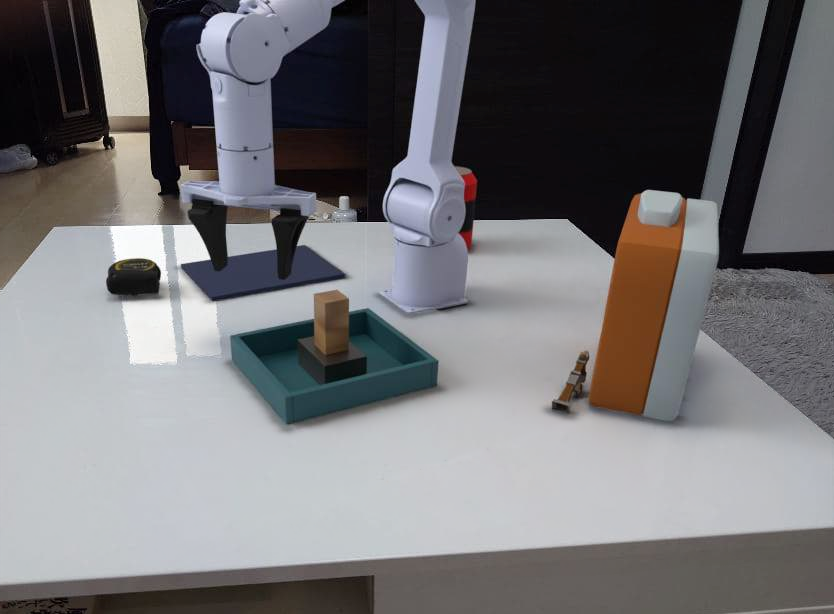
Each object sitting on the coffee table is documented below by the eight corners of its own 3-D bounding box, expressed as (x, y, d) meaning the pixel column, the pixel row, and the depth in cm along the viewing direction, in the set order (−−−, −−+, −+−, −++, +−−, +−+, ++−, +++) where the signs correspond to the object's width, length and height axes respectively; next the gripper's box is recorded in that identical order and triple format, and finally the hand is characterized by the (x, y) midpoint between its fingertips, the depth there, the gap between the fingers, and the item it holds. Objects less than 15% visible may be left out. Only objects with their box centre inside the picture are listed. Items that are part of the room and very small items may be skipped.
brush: (337, 354, 89) (337, 281, 84) (366, 380, 84) (368, 303, 79) (297, 363, 87) (295, 288, 82) (325, 390, 82) (324, 312, 77)
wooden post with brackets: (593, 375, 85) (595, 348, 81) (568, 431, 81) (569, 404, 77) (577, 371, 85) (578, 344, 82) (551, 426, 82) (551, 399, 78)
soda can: (417, 240, 126) (421, 165, 120) (461, 237, 128) (467, 163, 122) (432, 255, 120) (437, 177, 114) (478, 252, 122) (485, 175, 116)
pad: (304, 248, 122) (304, 244, 122) (345, 277, 111) (345, 273, 111) (181, 267, 114) (180, 263, 113) (211, 301, 103) (211, 297, 103)
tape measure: (107, 302, 102) (103, 275, 100) (115, 282, 108) (111, 257, 106) (160, 300, 103) (156, 273, 101) (164, 281, 109) (161, 255, 107)
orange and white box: (605, 340, 95) (638, 170, 84) (681, 352, 92) (724, 178, 82) (585, 411, 80) (622, 215, 70) (675, 428, 77) (727, 227, 67)
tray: (367, 333, 95) (368, 307, 93) (436, 389, 83) (438, 360, 82) (231, 363, 88) (229, 335, 86) (286, 428, 76) (285, 397, 74)
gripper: (161, 147, 77) (175, 277, 84) (298, 159, 73) (301, 293, 80) (194, 134, 83) (205, 256, 90) (322, 144, 79) (323, 270, 86)
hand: (252, 272), depth 85 cm, fingers open, 7 cm apart
